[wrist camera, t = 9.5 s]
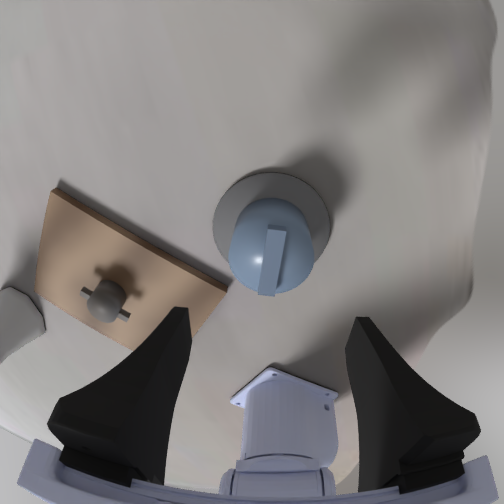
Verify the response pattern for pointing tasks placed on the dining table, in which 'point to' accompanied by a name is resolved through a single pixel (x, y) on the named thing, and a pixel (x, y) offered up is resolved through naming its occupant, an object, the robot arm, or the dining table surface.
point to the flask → (17, 321)
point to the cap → (271, 247)
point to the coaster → (271, 188)
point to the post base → (115, 275)
